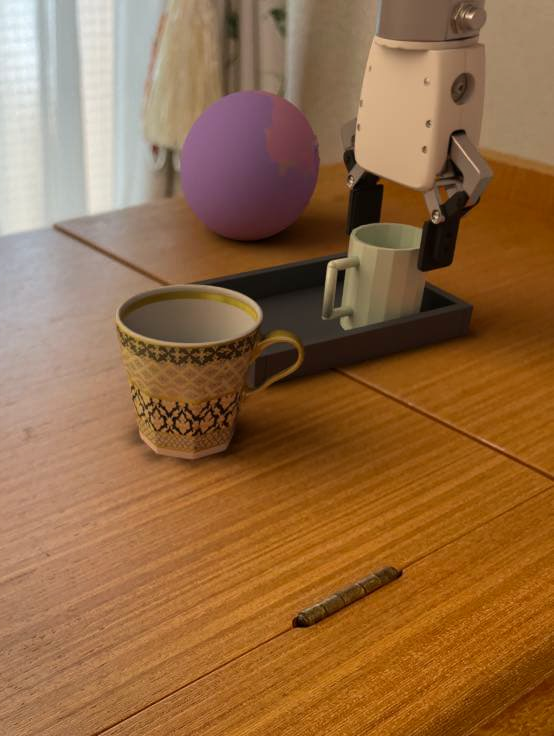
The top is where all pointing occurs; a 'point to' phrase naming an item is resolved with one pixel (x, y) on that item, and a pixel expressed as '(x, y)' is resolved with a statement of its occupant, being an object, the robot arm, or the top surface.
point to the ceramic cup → (192, 364)
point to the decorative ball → (249, 165)
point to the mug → (377, 276)
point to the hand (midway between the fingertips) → (396, 249)
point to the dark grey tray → (327, 338)
